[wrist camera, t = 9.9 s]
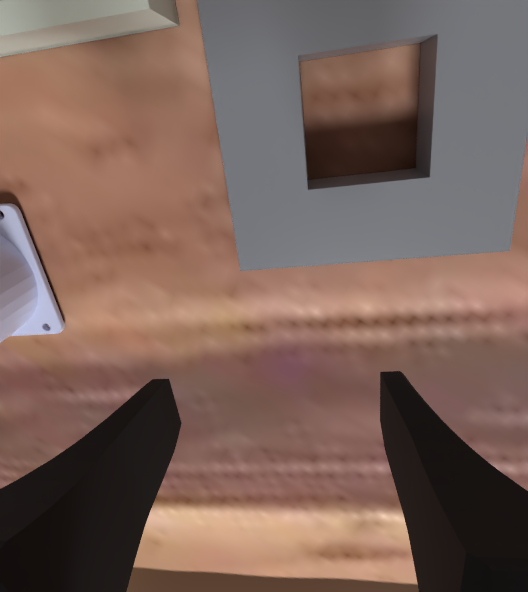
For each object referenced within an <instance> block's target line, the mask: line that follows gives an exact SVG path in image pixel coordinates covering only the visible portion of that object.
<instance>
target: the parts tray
mask: <svg viewBox="0 0 528 592" xmlns="http://www.w3.org/2000/svg"><path fill="white" fill-rule="evenodd" d="M176 26H179V20H178V15H177V9H176V3H175V0H0V57H4V56H10V55H16V54H21V53H27V52H33V51H39V50H44V49H50V48H56V47H62V46H67V45H73V44H79V43H84V42H90V41H96V40H102V39H107V38H113V37H119V36H125V35H130V34H136V33H142V32H147V31H153V30H159V29H165V28H170V27H176Z"/></svg>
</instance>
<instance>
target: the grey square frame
mask: <svg viewBox="0 0 528 592" xmlns="http://www.w3.org/2000/svg"><path fill="white" fill-rule="evenodd" d="M197 4H198V10H199V16H200V22H201V29H202V35H203V41H204V47H205V54H206V60H207V66H208V72H209V78H210V85H211V91H212V97H213V103H214V110H215V116H216V122H217V128H218V135H219V141H220V147H221V153H222V160H223V166H224V172H225V178H226V184H227V191H228V197H229V203H230V209H231V216H232V222H233V228H234V234H235V241H236V247H237V253H238V259H239V266H240V271H247V270H261V269H274V268H288V267H301V266H315V265H328V264H342V263H355V262H368V261H382V260H395V259H409V258H422V257H436V256H449V255H463V254H476V253H490V252H503V251H510V246H511V239H512V233H513V226H514V219H515V213H516V206H517V200H518V193H519V187H520V180H521V174H522V167H523V160H524V154H525V147H526V141H527V134H528V0H197ZM418 43H421V48H420V72H419V97H418V121H417V146H416V168H413V169H404V170H395V171H385V172H376V173H367V174H358V175H348V176H339V177H330V178H320V179H311V180H308V169H307V155H306V141H305V127H304V114H303V100H302V86H301V72H300V62H301V61H307V60H314V59H320V58H327V57H333V56H340V55H346V54H353V53H359V52H366V51H373V50H379V49H386V48H392V47H399V46H405V45H412V44H418Z"/></svg>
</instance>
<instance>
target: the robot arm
mask: <svg viewBox="0 0 528 592" xmlns="http://www.w3.org/2000/svg"><path fill="white" fill-rule="evenodd" d="M0 211H2V212H3V214H4V217H3V216H2V215H1V214H0V343H1V342H2V341H3V340H5V339H6V338H7V337H8V336H19V335H38V334H57V333H60V332H61V331H62V330H63V329H64V328H65V324H64V321H63V319H62V316H61V314H60V311H59V308H58V306H57V303H56V301H55V298H54V296H53V293H52V291H51V288H50V285H49V283H48V280H47V278H46V275H45V273H44V270H43V268H42V265H41V262H40V260H39V257H38V255H37V252H36V250H35V247H34V245H33V242H32V239H31V237H30V234H29V232H28V229H27V227H26V224H25V222H24V219H23V216H22V214H21V211H20V210H19V208H18V207H17V206H16V205H14V204H12V203H5V204H0ZM46 324H48V325H49V326H50V327H48V326H47V325H46ZM380 422H381V428H382V434H383V440H384V446H385V451H386V455H387V458H388V462H389V465H390V469H391V472H392V476H393V479H394V483H395V486H396V490H397V493H398V497H399V500H400V503H401V507H402V510H403V514H404V518H405V522H406V526H407V530H408V534H409V540H410V545H411V550H412V555H413V561H414V566H415V571H416V577H417V582H418V588H419V592H528V491H527V490H525V489H524V488H522V487H521V486H520V485H518V484H517V483H515V482H514V481H513V480H511V479H510V478H508V477H507V476H506V475H504V474H503V473H501V472H500V471H499V470H497V469H496V468H495V467H493V466H492V465H491V464H490V463H488V462H487V461H486V460H485V459H483V458H482V457H481V456H480V455H479V454H477V453H476V452H475V451H474V450H473V449H472V448H470V447H469V446H468V445H467V444H466V443H465V442H464V441H463V440H462V439H461V438H460V437H458V436H457V435H456V434H455V433H454V432H453V431H452V430H451V429H450V428H449V427H448V426H447V425H446V424H445V423H444V422H443V421H442V420H441V419H440V417H439V416H438V415H437V414H436V413H435V412H434V411H433V410H432V409H431V408H430V406H429V405H428V404H427V403H426V402H425V401H424V400H423V398H422V397H421V396H420V395H419V394H418V392H417V391H416V390H415V389H414V387H413V386H412V385H411V384H410V382H409V381H408V380H407V378H406V377H405V376H404V374H403V373H402V372H400V371H393V372H381V373H380ZM180 427H181V420H180V417H179V413H178V409H177V406H176V402H175V399H174V395H173V392H172V388H171V384H170V381H169V379H153V380H151V381H150V382H149V383H147V384H146V385H145V386H144V387H143V388H141V389H140V390H139V391H138V392H137V393H136V394H135V395H133V396H132V397H131V398H130V399H129V400H128V401H127V402H125V403H124V404H123V405H122V406H121V407H120V408H119V409H117V410H116V411H115V412H114V413H113V414H112V415H110V416H109V417H108V418H107V419H106V420H104V421H103V422H102V423H101V424H99V425H98V426H97V427H96V428H94V429H93V430H92V431H90V432H89V433H88V434H87V435H85V436H84V437H83V438H82V439H80V440H79V441H78V442H76V443H75V444H73V445H72V446H71V447H69V448H68V449H66V450H65V451H63V452H62V453H60V454H59V455H57V456H56V457H55V458H53V459H51V460H50V461H48V462H47V463H45V464H43V465H42V466H40V467H38V468H37V469H35V470H33V471H32V472H30V473H28V474H27V475H25V476H23V477H22V478H20V479H18V480H16V481H15V482H13V483H11V484H9V485H7V486H5V487H3V488H1V489H0V592H126V591H127V587H128V583H129V579H130V576H131V572H132V568H133V565H134V561H135V557H136V554H137V550H138V547H139V544H140V540H141V537H142V534H143V530H144V527H145V524H146V521H147V518H148V516H149V513H150V510H151V508H152V505H153V503H154V500H155V498H156V495H157V493H158V490H159V488H160V486H161V483H162V481H163V478H164V476H165V473H166V471H167V468H168V466H169V463H170V461H171V458H172V456H173V453H174V450H175V447H176V443H177V439H178V435H179V431H180Z"/></svg>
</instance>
